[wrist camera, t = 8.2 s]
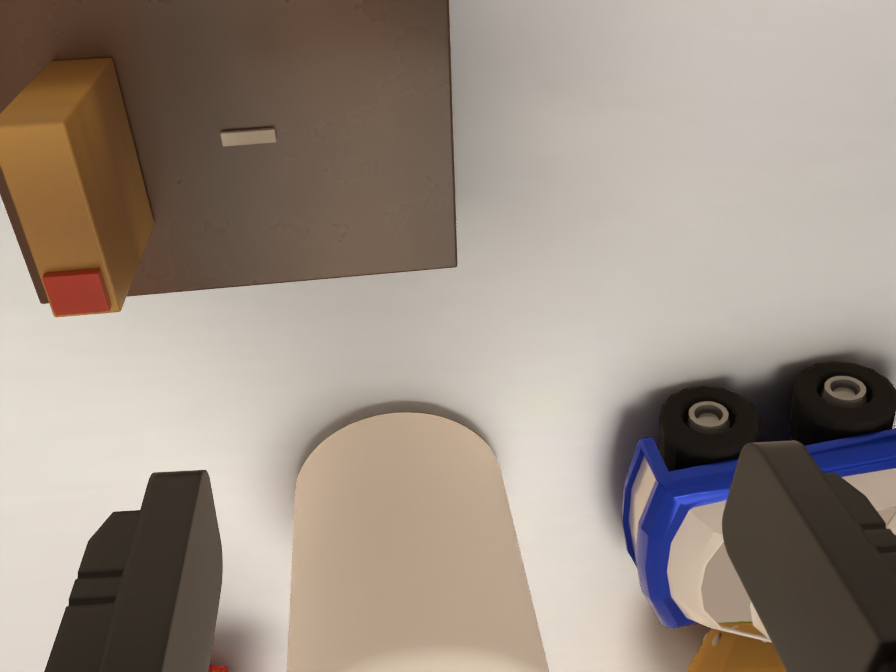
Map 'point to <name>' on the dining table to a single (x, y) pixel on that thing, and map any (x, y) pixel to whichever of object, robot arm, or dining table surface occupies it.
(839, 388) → the toy car
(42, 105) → the lock knob
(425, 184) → the plate
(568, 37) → the dining table surface
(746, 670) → the hamburger
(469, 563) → the beige cylinder
